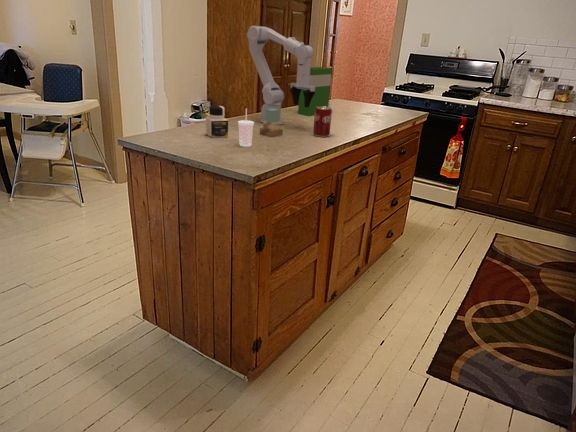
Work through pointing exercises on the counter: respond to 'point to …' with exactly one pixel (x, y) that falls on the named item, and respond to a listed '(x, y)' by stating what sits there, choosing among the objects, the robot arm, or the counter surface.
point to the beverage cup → (245, 132)
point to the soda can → (322, 121)
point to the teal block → (272, 115)
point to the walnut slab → (271, 132)
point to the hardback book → (316, 90)
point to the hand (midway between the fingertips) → (301, 105)
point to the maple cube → (271, 125)
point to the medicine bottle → (216, 122)
